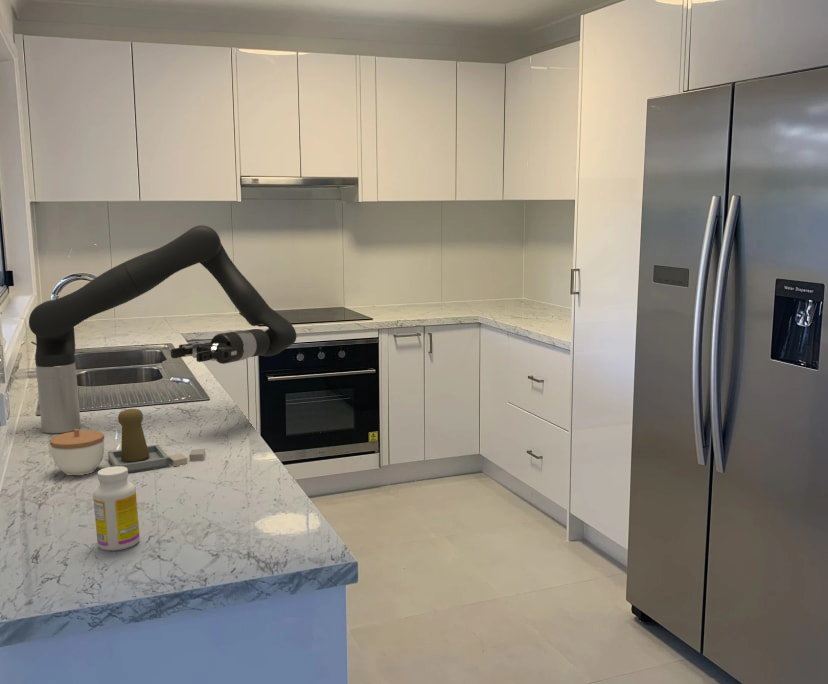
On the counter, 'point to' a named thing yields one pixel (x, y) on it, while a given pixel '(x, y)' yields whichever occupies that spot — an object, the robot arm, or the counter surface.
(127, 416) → the pepper mill
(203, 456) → the beige rectangular block
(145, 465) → the parts tray
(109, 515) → the supplement bottle
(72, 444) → the lidded jar
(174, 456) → the tan block
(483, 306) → the counter surface
